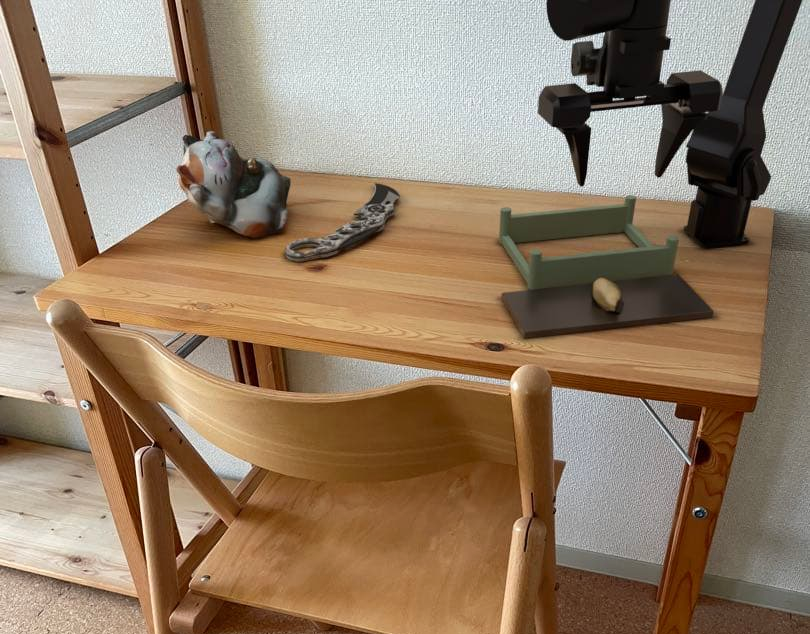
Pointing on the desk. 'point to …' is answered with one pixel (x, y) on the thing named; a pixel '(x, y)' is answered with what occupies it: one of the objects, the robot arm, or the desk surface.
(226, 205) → the lucky cat figurine
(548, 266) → the frame
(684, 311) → the board
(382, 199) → the knife
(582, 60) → the robot arm
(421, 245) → the desk surface
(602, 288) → the brazil nut
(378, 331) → the desk surface
